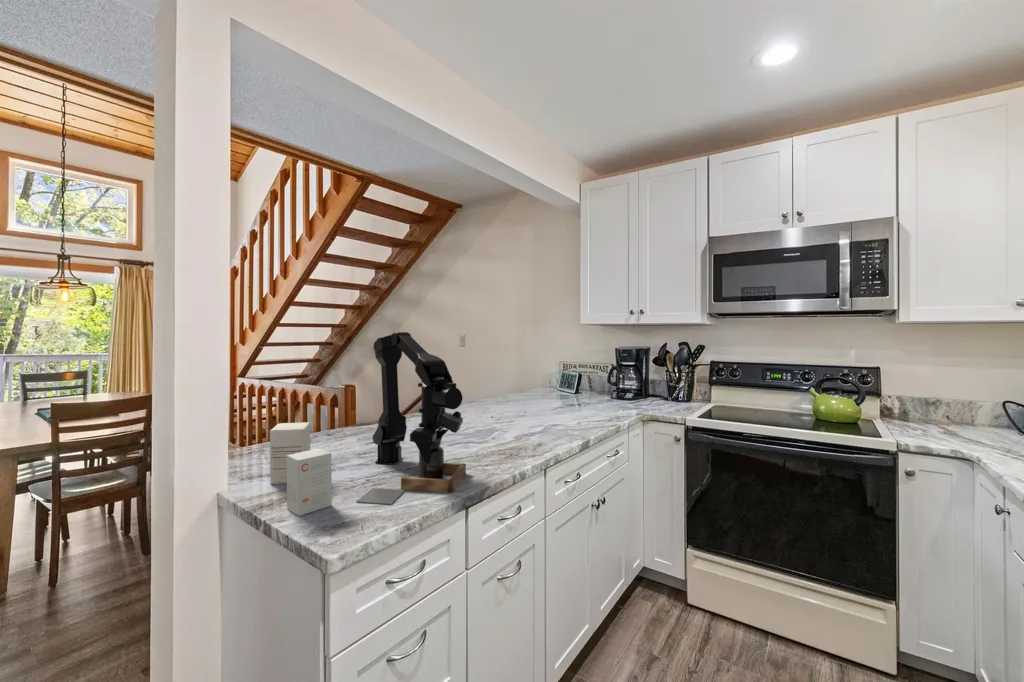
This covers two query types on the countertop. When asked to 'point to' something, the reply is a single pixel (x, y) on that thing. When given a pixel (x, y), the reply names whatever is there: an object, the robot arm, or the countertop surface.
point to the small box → (309, 481)
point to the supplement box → (286, 447)
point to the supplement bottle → (433, 463)
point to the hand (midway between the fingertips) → (431, 459)
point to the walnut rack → (437, 480)
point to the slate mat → (381, 496)
